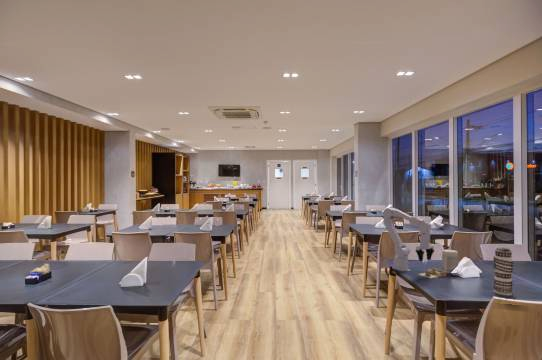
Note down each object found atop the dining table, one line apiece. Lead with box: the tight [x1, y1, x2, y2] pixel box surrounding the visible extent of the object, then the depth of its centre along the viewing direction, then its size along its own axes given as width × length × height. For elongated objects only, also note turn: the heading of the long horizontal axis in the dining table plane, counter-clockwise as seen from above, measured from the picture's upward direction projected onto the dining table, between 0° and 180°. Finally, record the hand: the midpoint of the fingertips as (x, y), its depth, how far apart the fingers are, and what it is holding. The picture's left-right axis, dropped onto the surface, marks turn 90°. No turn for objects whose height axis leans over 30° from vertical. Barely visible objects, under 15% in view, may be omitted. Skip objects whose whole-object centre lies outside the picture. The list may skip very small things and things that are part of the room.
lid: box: [417, 270, 439, 280], centre depth 213 cm, size 9×7×4 cm
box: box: [427, 268, 448, 278], centre depth 216 cm, size 9×7×3 cm
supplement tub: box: [441, 249, 459, 274], centre depth 224 cm, size 10×10×15 cm
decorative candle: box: [492, 246, 514, 296], centre depth 183 cm, size 9×9×25 cm
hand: (424, 260), depth 218 cm, fingers open, 7 cm apart
